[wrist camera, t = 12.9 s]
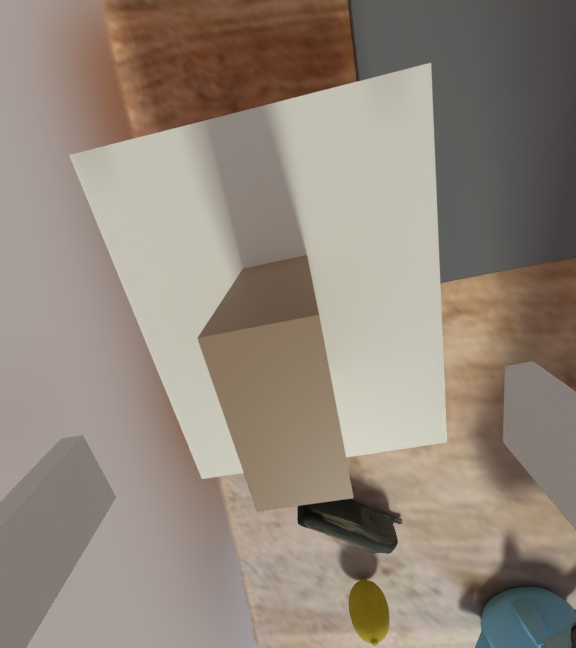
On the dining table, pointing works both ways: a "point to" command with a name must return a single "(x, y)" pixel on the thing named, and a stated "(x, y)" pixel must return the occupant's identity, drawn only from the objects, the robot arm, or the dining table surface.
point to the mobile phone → (351, 524)
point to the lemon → (369, 611)
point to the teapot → (523, 618)
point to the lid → (287, 279)
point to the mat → (489, 120)
